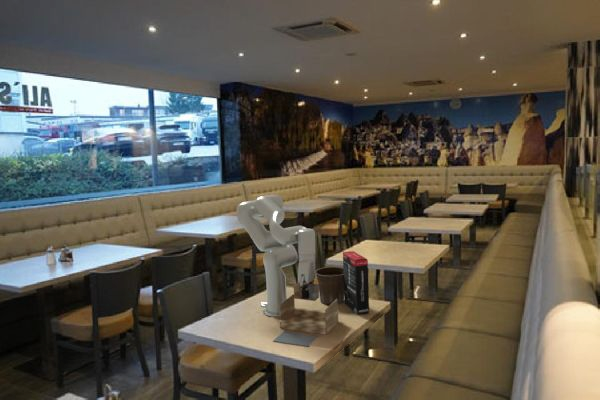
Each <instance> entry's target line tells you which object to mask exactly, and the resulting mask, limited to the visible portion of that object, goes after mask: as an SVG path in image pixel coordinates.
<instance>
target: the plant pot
mask: <svg viewBox="0 0 600 400" xmlns="http://www.w3.org/2000/svg"><path fill="white" fill-rule="evenodd" d="M315 272H316V275H315V276H316V281H317V284H319V300H320V303H321V304H323V305H327V306H330V305H331V304H332V303H333V302H334V301H335V300H336V299H338V305H340V304H342V303H345V299H344V273H343V267H338V266H326V267H321V268H318V269H315Z"/></svg>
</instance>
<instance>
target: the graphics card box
mask: <svg viewBox="0 0 600 400" xmlns="http://www.w3.org/2000/svg"><path fill="white" fill-rule="evenodd" d="M368 264H369V261H368V259H367V258H366V257H364V256H362V255H361V254H359V253H358V252H356V251H353V250H352V251H350V250H349V251H342V268H343V273H344V305H346V306H347V307H348V308H349V309H350V310H351V311H352V312H353V313H354V314H355V315H357V316H358V315H359V316H360V315H367V314H370V299H369V298H370V294H369V290H370V289H369V265H368Z"/></svg>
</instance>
